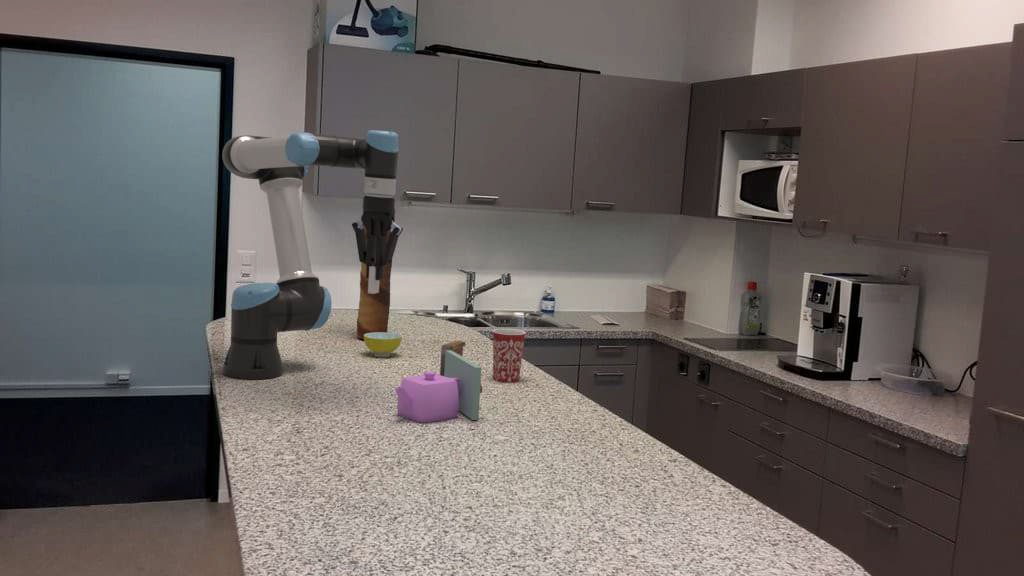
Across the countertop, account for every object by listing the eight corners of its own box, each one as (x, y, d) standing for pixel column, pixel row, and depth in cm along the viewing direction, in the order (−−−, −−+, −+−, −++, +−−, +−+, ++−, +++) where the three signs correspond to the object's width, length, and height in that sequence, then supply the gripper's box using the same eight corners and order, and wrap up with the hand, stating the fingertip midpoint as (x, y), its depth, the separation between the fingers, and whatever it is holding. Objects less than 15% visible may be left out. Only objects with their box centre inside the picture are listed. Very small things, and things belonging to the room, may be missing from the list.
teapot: (408, 427, 200) (410, 381, 199) (380, 416, 208) (382, 371, 206) (471, 416, 213) (473, 372, 211) (442, 406, 220) (444, 364, 219)
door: (442, 398, 226) (445, 350, 225) (454, 398, 227) (457, 350, 226) (472, 419, 208) (475, 367, 206) (484, 419, 209) (488, 367, 208)
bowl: (355, 356, 273) (356, 335, 272) (375, 350, 284) (376, 330, 283) (388, 361, 269) (389, 340, 268) (407, 355, 280) (408, 335, 279)
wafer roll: (395, 339, 304) (402, 202, 299) (374, 343, 296) (380, 202, 290) (371, 335, 310) (377, 200, 305) (350, 338, 301) (356, 200, 296)
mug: (526, 383, 250) (529, 334, 249) (493, 383, 248) (496, 333, 247) (515, 373, 263) (518, 326, 261) (484, 373, 260) (487, 325, 259)
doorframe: (436, 398, 227) (439, 346, 226) (452, 390, 237) (455, 340, 235) (446, 400, 226) (449, 347, 225) (462, 392, 236) (465, 341, 234)
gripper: (347, 193, 221) (341, 291, 224) (396, 198, 216) (389, 297, 219) (363, 193, 228) (357, 288, 231) (410, 198, 223) (404, 294, 226)
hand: (373, 292), depth 225 cm, fingers closed
